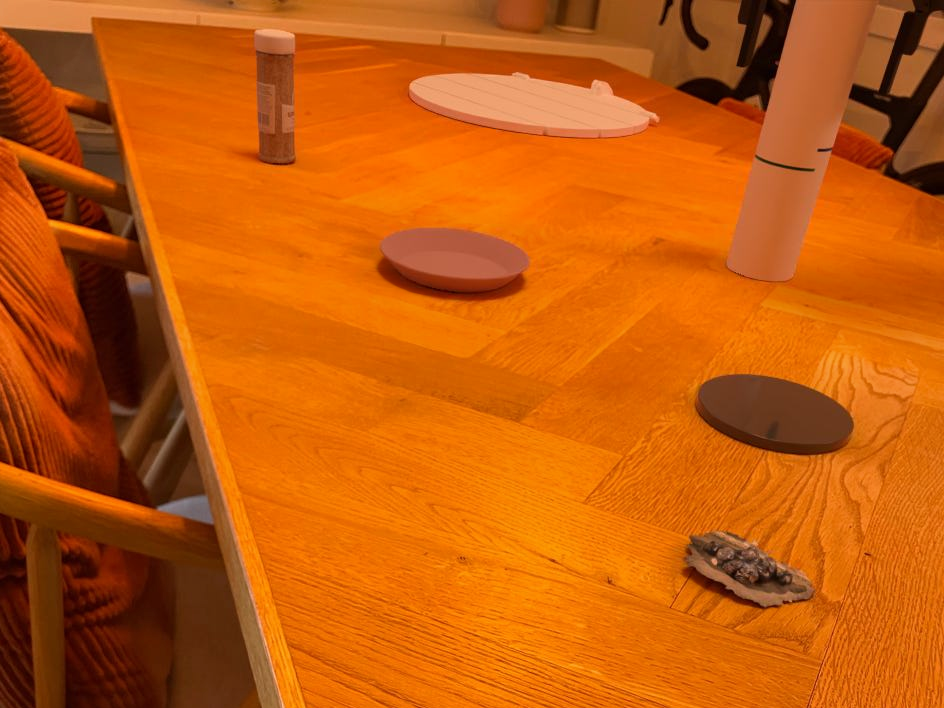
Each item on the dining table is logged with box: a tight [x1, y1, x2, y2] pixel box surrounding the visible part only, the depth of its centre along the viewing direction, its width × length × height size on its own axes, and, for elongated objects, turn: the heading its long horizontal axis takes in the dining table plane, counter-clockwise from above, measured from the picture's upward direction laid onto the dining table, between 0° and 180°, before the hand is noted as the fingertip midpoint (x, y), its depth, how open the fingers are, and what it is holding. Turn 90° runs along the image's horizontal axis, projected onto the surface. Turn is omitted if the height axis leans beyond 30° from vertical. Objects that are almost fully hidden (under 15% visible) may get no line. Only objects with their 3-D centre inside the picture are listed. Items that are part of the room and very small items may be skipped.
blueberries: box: [682, 530, 816, 608], centre depth 58 cm, size 7×8×2 cm
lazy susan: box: [408, 71, 661, 139], centre depth 160 cm, size 40×39×3 cm
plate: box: [379, 227, 531, 293], centre depth 94 cm, size 14×14×2 cm
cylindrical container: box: [725, 0, 879, 282], centre depth 98 cm, size 7×7×25 cm
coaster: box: [695, 373, 855, 455], centre depth 76 cm, size 12×12×1 cm
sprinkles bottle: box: [253, 28, 297, 165], centre depth 116 cm, size 5×5×14 cm
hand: (811, 79), depth 95 cm, fingers open, 13 cm apart
